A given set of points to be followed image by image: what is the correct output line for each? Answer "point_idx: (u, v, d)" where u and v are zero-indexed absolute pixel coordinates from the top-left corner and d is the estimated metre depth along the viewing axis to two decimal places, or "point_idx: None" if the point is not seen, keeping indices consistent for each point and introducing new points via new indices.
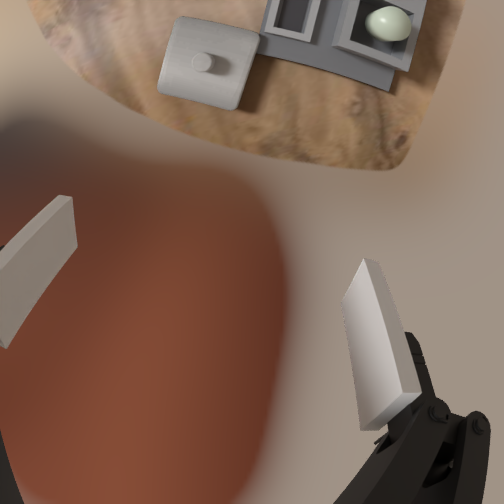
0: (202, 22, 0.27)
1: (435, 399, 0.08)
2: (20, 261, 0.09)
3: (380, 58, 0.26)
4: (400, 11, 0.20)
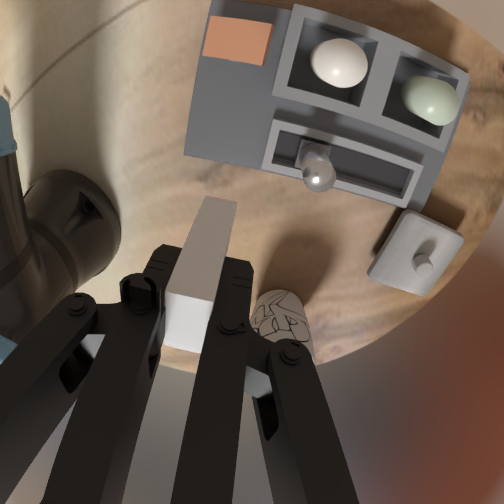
0: (381, 258, 0.34)
1: (221, 313, 0.09)
2: None
3: None
4: (424, 91, 0.18)
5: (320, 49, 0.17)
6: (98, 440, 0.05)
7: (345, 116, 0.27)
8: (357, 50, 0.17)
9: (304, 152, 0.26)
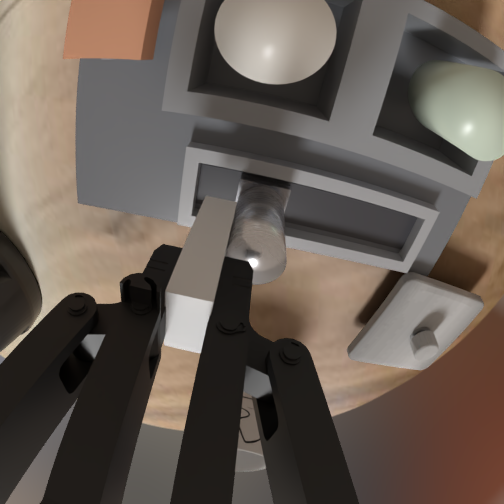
0: (367, 336, 0.24)
1: (221, 313, 0.09)
2: None
3: None
4: (462, 90, 0.08)
5: (224, 5, 0.07)
6: (99, 440, 0.05)
7: None
8: None
9: (240, 205, 0.16)
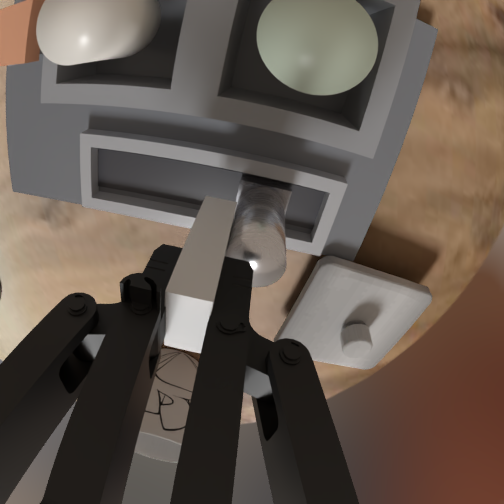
0: (290, 327, 0.23)
1: (221, 313, 0.09)
2: None
3: (399, 60, 0.10)
4: (269, 16, 0.07)
5: (41, 10, 0.07)
6: (98, 440, 0.05)
7: None
8: None
9: (240, 206, 0.16)
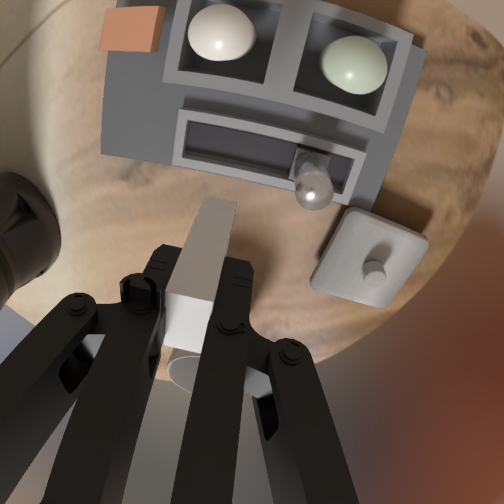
0: (323, 265, 0.31)
1: (221, 313, 0.09)
2: None
3: (399, 74, 0.17)
4: (333, 51, 0.15)
5: (192, 21, 0.14)
6: (98, 440, 0.05)
7: (263, 99, 0.23)
8: (237, 14, 0.14)
9: (299, 163, 0.23)
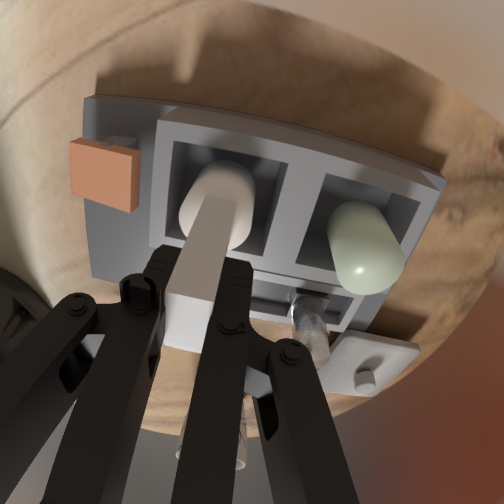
0: None
1: (222, 313, 0.09)
2: None
3: (414, 238, 0.18)
4: (346, 257, 0.15)
5: (183, 206, 0.15)
6: (98, 440, 0.05)
7: None
8: None
9: (298, 315, 0.23)
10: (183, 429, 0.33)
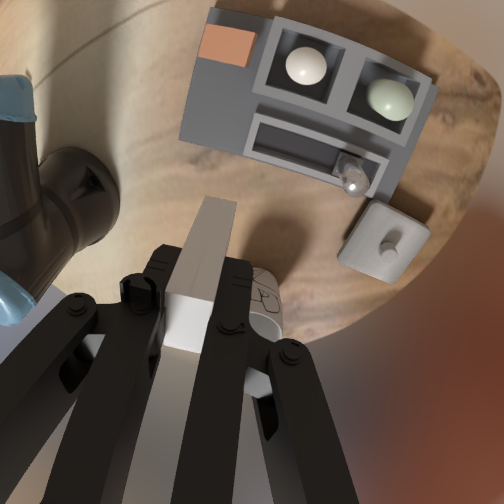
0: (349, 243, 0.39)
1: (221, 313, 0.09)
2: None
3: (419, 106, 0.25)
4: (380, 90, 0.23)
5: (289, 55, 0.24)
6: (98, 440, 0.05)
7: (318, 113, 0.31)
8: (318, 56, 0.23)
9: (343, 163, 0.31)
10: None
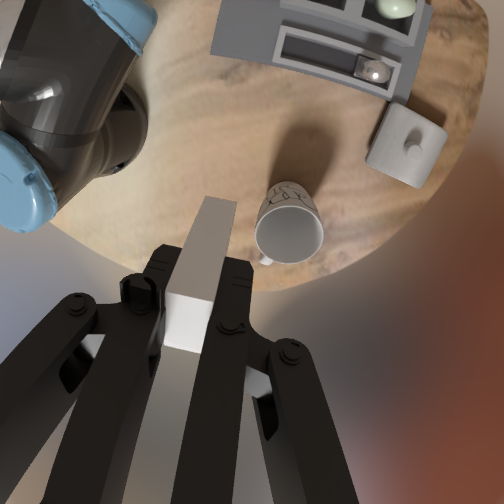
0: (376, 144, 0.38)
1: (221, 313, 0.09)
2: None
3: (420, 14, 0.24)
4: None
5: None
6: (99, 440, 0.05)
7: (335, 26, 0.30)
8: None
9: (363, 61, 0.30)
10: (262, 206, 0.40)
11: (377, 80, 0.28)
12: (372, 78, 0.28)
